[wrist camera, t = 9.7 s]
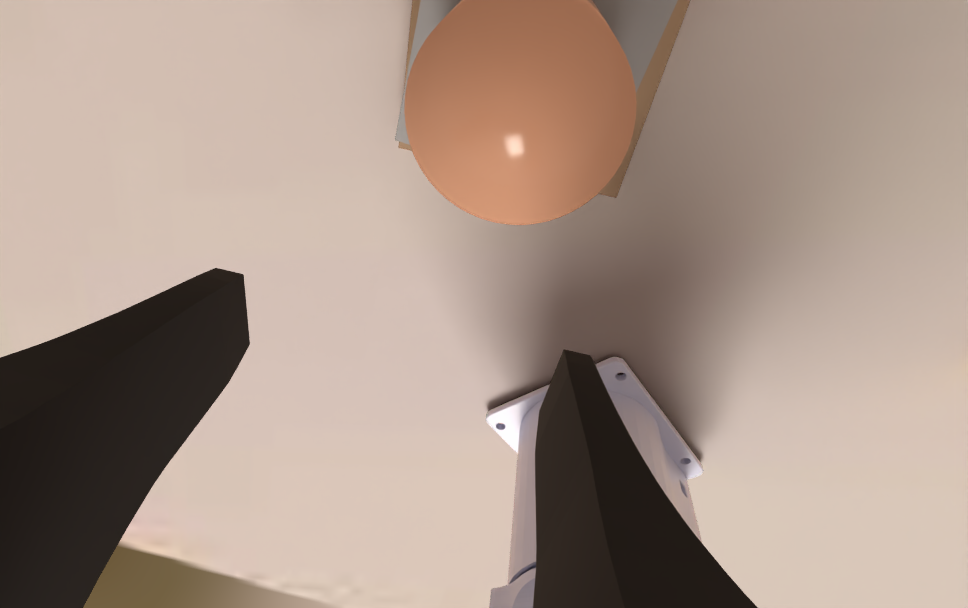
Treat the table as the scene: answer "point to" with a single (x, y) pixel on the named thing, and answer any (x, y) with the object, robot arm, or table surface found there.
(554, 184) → the clay cylinder
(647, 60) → the tower block
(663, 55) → the tower base
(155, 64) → the table surface
